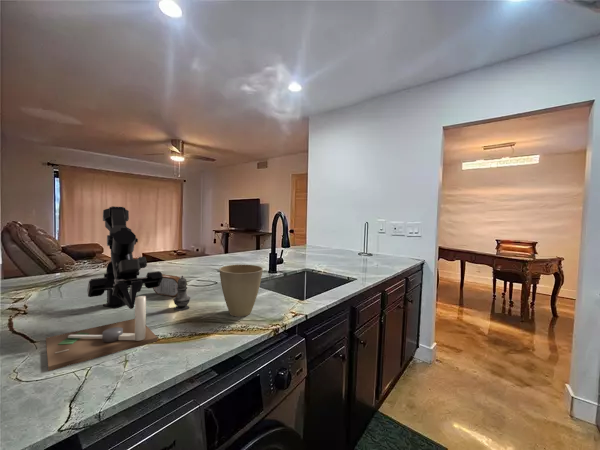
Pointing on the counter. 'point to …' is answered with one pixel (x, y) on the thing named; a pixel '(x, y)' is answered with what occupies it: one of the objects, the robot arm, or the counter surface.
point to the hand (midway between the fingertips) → (132, 308)
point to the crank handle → (117, 332)
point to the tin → (168, 286)
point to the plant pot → (240, 287)
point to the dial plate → (90, 345)
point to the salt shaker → (181, 296)
